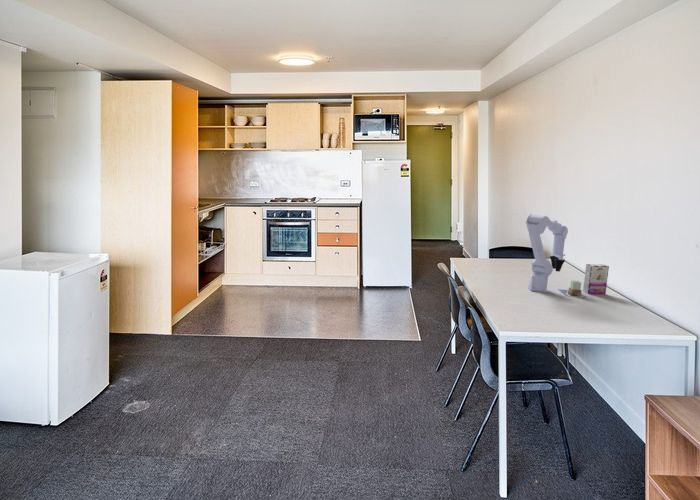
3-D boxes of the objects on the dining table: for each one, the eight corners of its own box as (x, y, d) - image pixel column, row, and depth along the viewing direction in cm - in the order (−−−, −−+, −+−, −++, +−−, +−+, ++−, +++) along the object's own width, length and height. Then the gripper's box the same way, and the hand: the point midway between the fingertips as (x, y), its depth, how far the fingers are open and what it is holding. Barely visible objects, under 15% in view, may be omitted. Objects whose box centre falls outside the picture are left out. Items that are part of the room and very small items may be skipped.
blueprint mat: (565, 296, 270) (566, 296, 270) (557, 289, 286) (557, 289, 285) (587, 298, 269) (587, 297, 269) (577, 291, 284) (577, 290, 284)
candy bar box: (599, 292, 285) (603, 264, 282) (605, 294, 280) (609, 265, 278) (581, 292, 283) (585, 263, 280) (587, 294, 278) (591, 265, 275)
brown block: (570, 295, 271) (571, 289, 270) (568, 293, 276) (568, 287, 275) (580, 296, 270) (581, 290, 270) (577, 294, 275) (578, 288, 275)
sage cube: (572, 289, 271) (573, 282, 270) (570, 287, 275) (571, 280, 274) (580, 290, 270) (581, 282, 270) (577, 288, 274) (578, 281, 274)
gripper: (569, 249, 279) (566, 273, 282) (562, 244, 293) (559, 267, 296) (556, 248, 280) (553, 272, 282) (549, 244, 294) (547, 266, 297)
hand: (555, 269), depth 289 cm, fingers open, 7 cm apart
